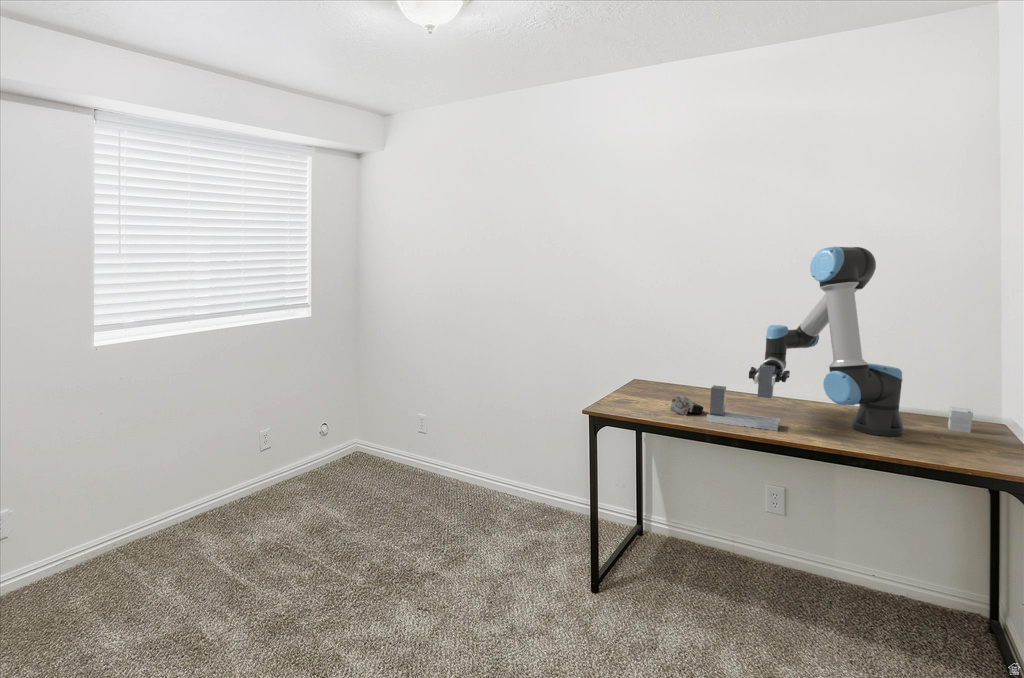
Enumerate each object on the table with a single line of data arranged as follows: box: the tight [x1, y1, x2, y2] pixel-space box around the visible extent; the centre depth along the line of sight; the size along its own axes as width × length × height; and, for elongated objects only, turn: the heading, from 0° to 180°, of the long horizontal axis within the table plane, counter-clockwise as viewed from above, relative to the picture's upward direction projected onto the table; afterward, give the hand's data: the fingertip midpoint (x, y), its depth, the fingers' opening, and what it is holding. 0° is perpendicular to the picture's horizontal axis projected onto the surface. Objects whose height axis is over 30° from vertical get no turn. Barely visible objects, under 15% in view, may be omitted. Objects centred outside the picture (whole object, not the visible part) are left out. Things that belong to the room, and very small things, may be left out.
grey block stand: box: [706, 384, 781, 432], centre depth 207 cm, size 24×8×12 cm, turn 60°
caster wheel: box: [669, 393, 704, 416], centre depth 222 cm, size 7×11×10 cm
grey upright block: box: [757, 363, 775, 399], centre depth 202 cm, size 5×4×11 cm
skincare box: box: [947, 406, 974, 434], centre depth 199 cm, size 6×6×7 cm
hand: (764, 380), depth 197 cm, fingers closed on grey upright block, 5 cm apart
